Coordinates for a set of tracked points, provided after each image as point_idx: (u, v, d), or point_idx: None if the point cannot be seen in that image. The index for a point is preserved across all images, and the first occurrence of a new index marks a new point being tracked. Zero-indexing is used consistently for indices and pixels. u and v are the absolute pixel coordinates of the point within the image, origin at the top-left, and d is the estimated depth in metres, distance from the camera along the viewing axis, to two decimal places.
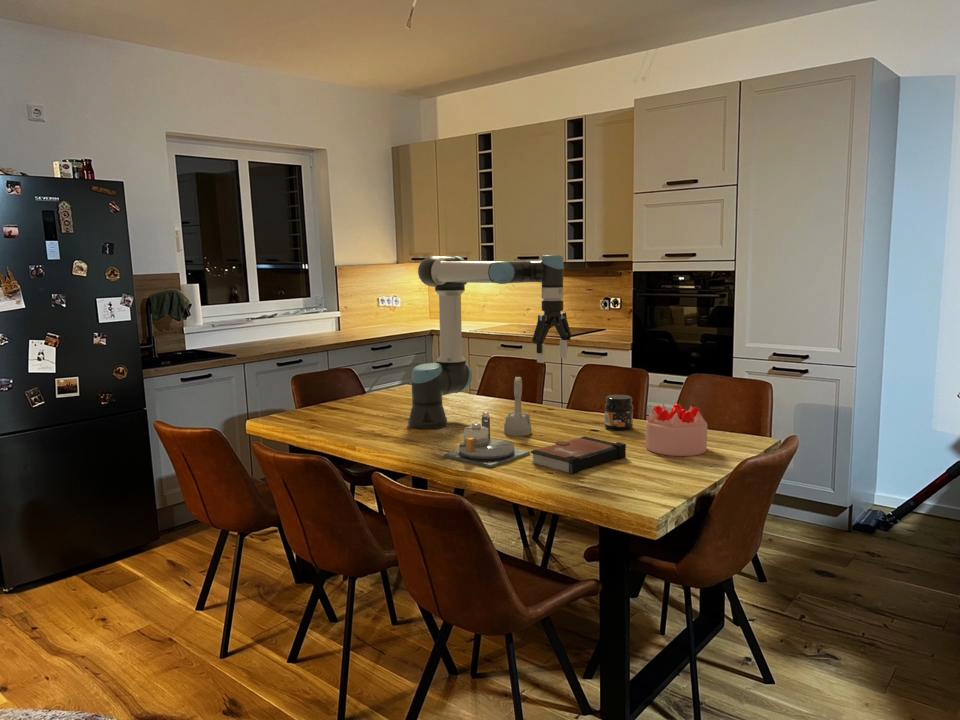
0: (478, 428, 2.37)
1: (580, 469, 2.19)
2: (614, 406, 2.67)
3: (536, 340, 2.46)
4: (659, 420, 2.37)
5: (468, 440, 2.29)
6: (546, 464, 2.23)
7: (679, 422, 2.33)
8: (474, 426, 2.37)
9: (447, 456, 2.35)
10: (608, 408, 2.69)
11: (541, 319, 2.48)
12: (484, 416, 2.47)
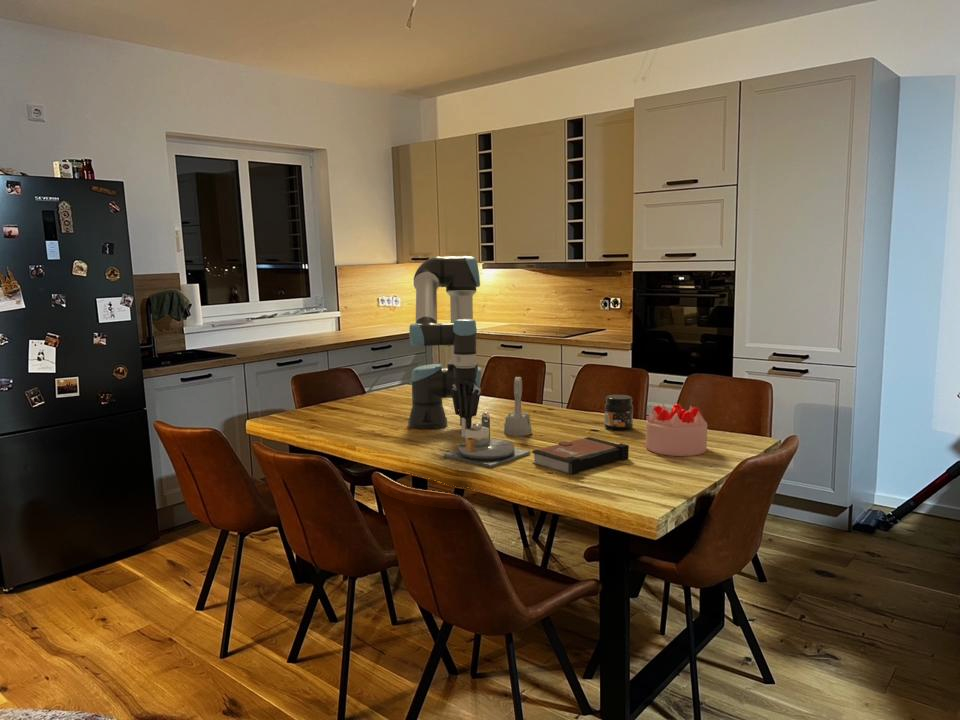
0: (479, 428, 2.37)
1: (580, 470, 2.18)
2: (614, 406, 2.67)
3: None
4: (659, 420, 2.37)
5: (468, 440, 2.29)
6: (547, 464, 2.23)
7: (679, 422, 2.33)
8: (475, 426, 2.37)
9: (447, 456, 2.35)
10: (608, 408, 2.69)
11: None
12: (484, 416, 2.47)
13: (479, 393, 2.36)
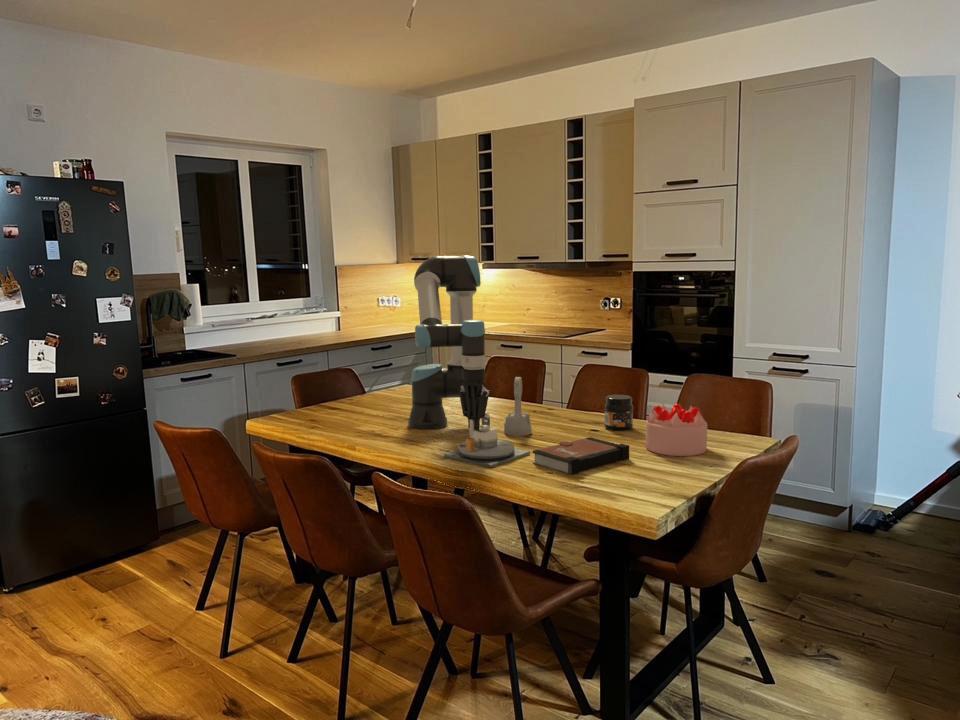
0: (487, 430, 2.35)
1: (580, 470, 2.18)
2: (614, 406, 2.67)
3: None
4: (659, 420, 2.37)
5: (468, 440, 2.29)
6: (547, 464, 2.23)
7: (679, 422, 2.33)
8: (483, 428, 2.35)
9: (447, 456, 2.35)
10: (608, 408, 2.69)
11: None
12: None
13: (487, 395, 2.34)
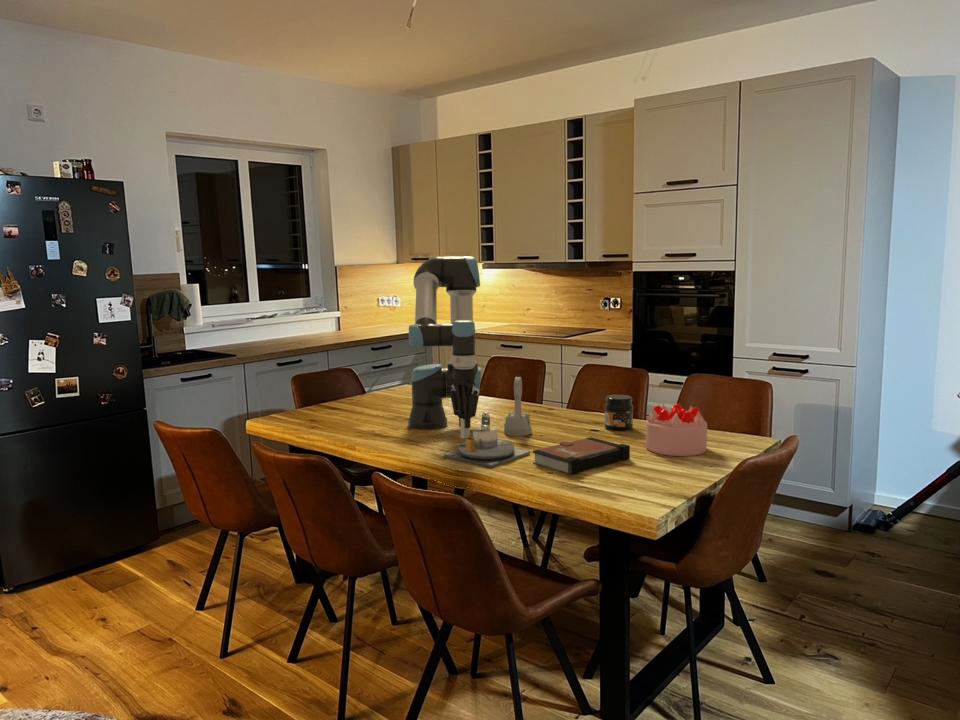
0: (487, 430, 2.35)
1: (580, 470, 2.18)
2: (614, 406, 2.67)
3: None
4: (659, 420, 2.37)
5: (468, 440, 2.29)
6: (547, 464, 2.23)
7: (679, 422, 2.33)
8: (483, 427, 2.35)
9: (447, 456, 2.35)
10: (608, 408, 2.69)
11: None
12: (484, 416, 2.47)
13: (478, 394, 2.37)
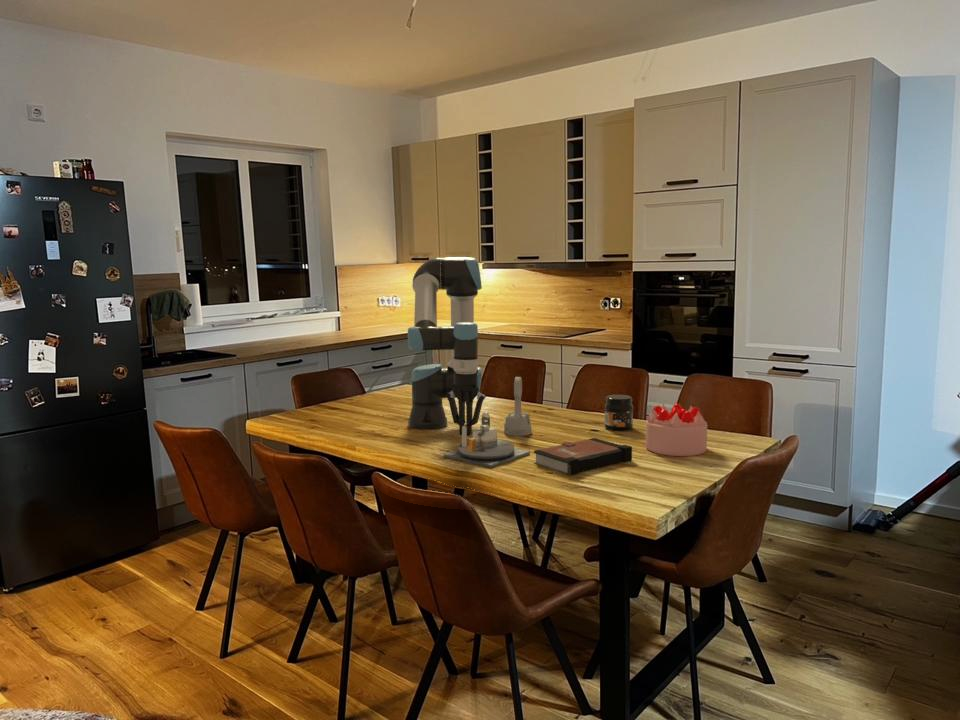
0: (487, 429, 2.35)
1: (580, 470, 2.17)
2: (614, 406, 2.67)
3: None
4: (659, 420, 2.37)
5: (469, 440, 2.29)
6: (547, 464, 2.23)
7: (679, 422, 2.33)
8: (483, 428, 2.34)
9: (447, 456, 2.35)
10: (608, 408, 2.69)
11: None
12: (484, 416, 2.47)
13: (483, 399, 2.27)
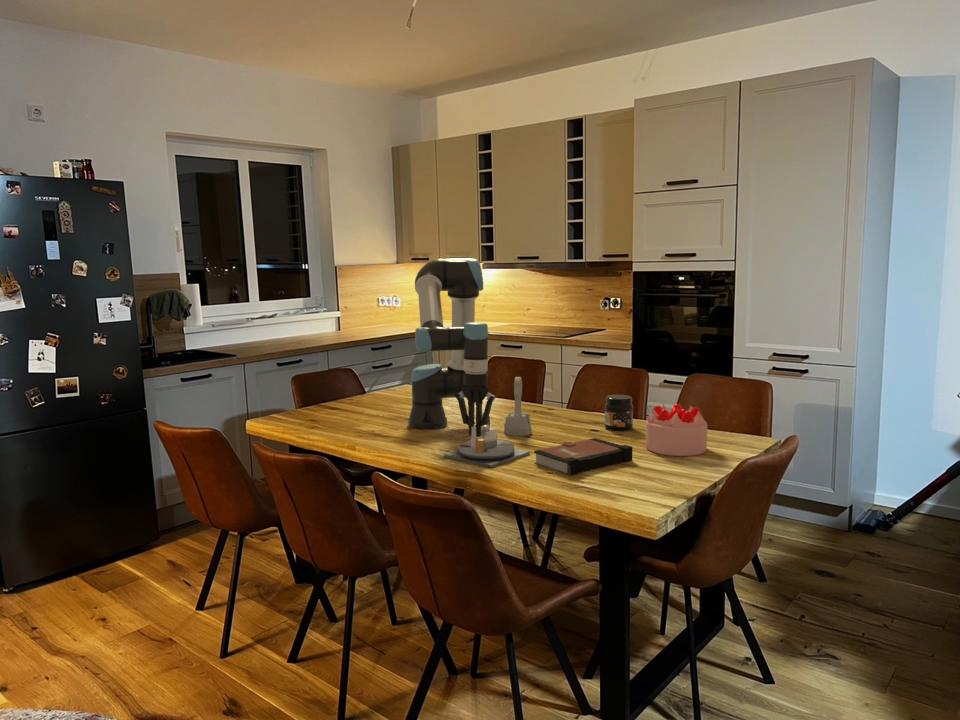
0: (489, 429, 2.35)
1: (580, 470, 2.17)
2: (614, 406, 2.67)
3: None
4: (659, 420, 2.37)
5: (479, 441, 2.27)
6: (547, 464, 2.23)
7: (679, 422, 2.33)
8: (485, 428, 2.34)
9: (447, 456, 2.35)
10: (608, 408, 2.69)
11: None
12: None
13: (493, 400, 2.25)
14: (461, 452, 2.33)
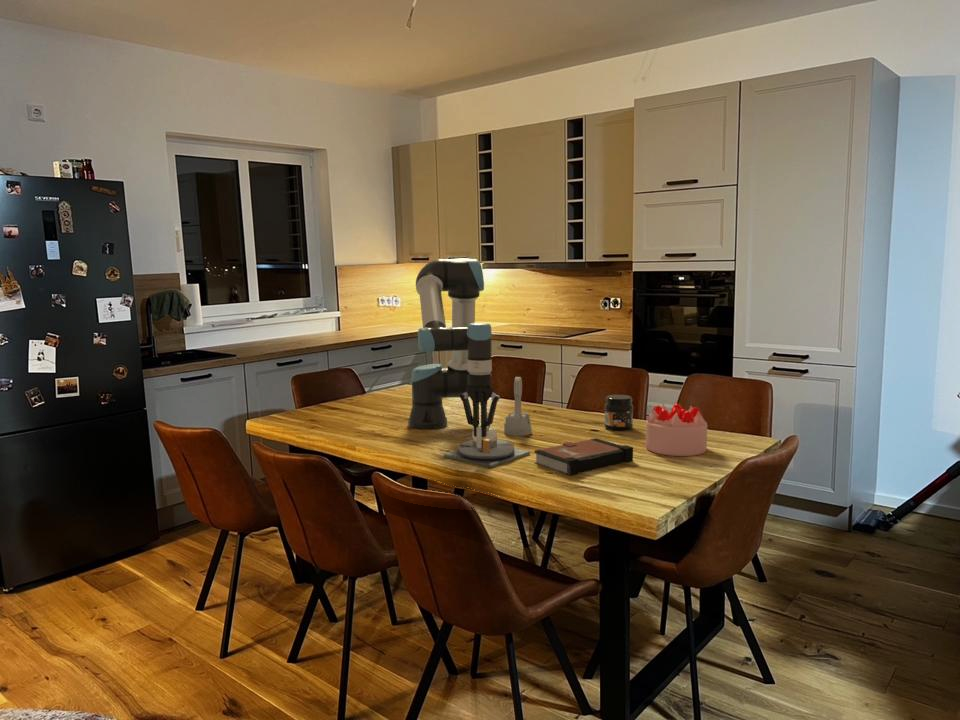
0: (488, 429, 2.35)
1: (580, 471, 2.17)
2: (614, 406, 2.67)
3: None
4: (659, 420, 2.37)
5: (486, 442, 2.27)
6: (547, 464, 2.23)
7: (679, 422, 2.33)
8: None
9: (447, 456, 2.35)
10: (608, 408, 2.69)
11: None
12: None
13: None
14: (464, 453, 2.31)
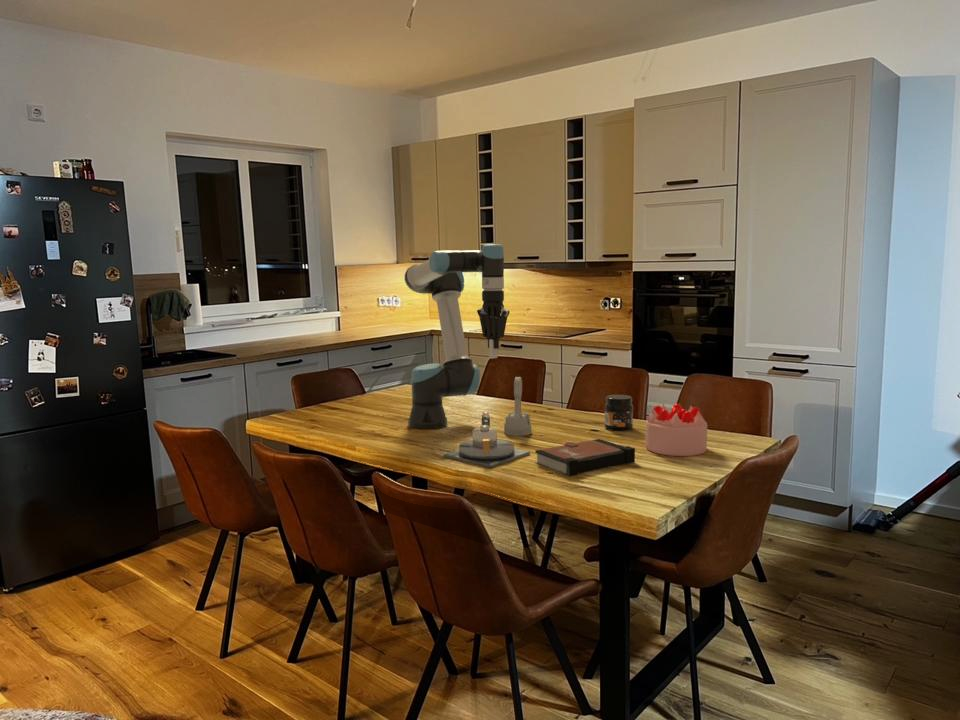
0: (489, 429, 2.35)
1: (579, 471, 2.17)
2: (614, 406, 2.67)
3: None
4: (659, 420, 2.37)
5: (486, 442, 2.27)
6: (548, 464, 2.23)
7: (679, 422, 2.33)
8: (487, 428, 2.34)
9: (447, 456, 2.35)
10: (608, 408, 2.69)
11: None
12: (484, 416, 2.47)
13: (506, 314, 2.47)
14: (464, 453, 2.31)
